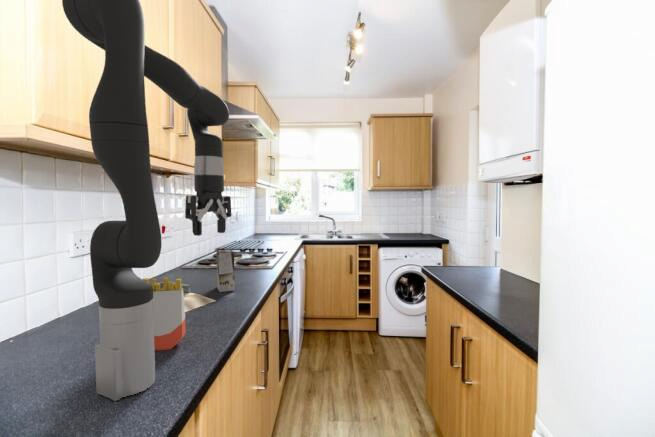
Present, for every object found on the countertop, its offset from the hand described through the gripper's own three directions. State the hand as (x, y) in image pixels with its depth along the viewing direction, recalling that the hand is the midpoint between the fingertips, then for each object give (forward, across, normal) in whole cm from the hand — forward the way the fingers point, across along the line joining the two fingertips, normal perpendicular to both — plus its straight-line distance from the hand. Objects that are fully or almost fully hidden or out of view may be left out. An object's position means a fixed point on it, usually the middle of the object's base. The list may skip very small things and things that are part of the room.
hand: (210, 234), depth 90 cm
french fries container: (+28, -11, +6) cm, 31 cm away
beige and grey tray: (+29, +14, +35) cm, 47 cm away
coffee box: (+28, +38, +30) cm, 56 cm away
